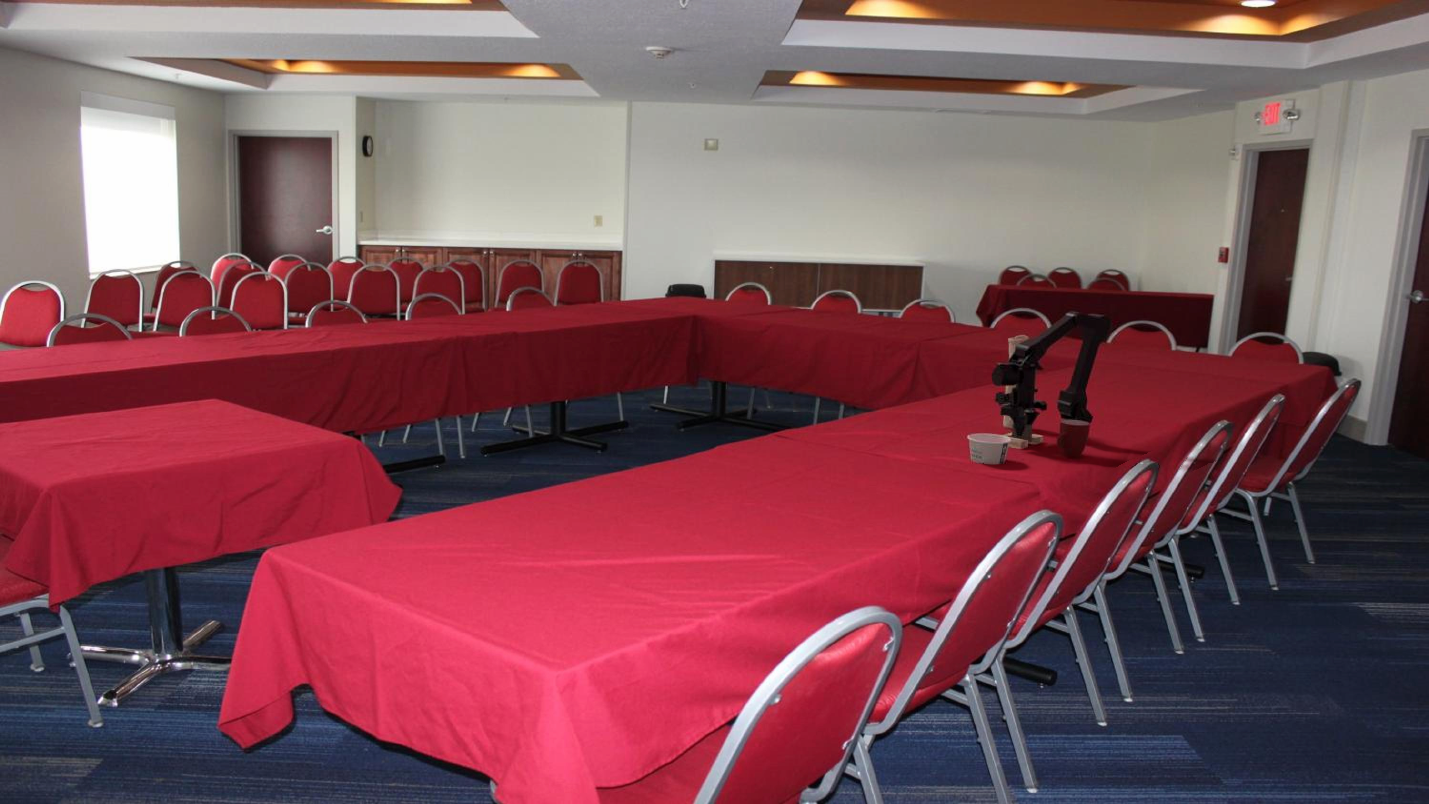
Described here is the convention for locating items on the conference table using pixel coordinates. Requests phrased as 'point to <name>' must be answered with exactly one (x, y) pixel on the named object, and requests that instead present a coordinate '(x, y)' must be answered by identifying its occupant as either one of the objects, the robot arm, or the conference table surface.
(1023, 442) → the notch board
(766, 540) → the conference table surface
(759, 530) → the conference table surface
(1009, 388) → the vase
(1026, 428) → the grey block
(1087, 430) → the mug
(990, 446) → the food container
